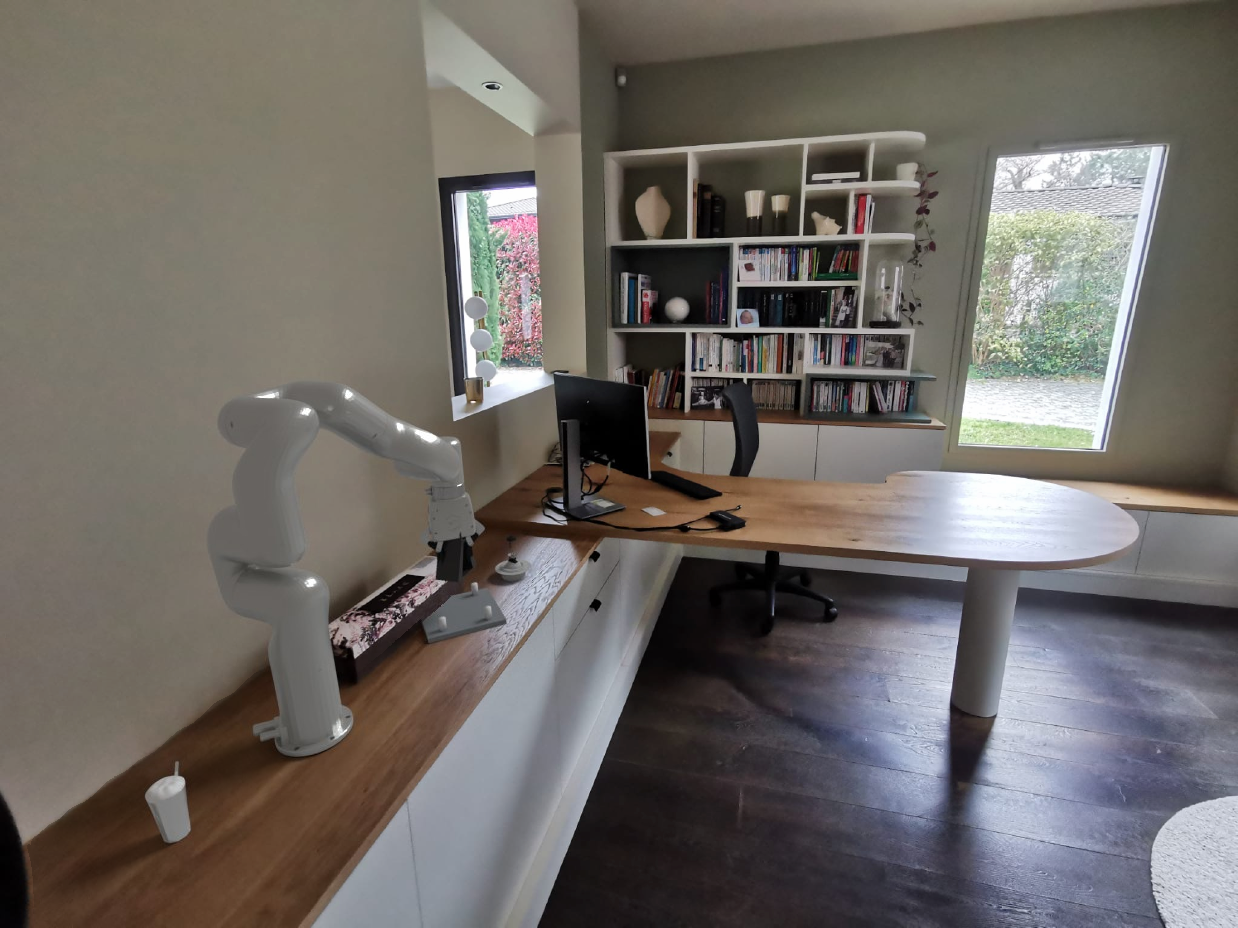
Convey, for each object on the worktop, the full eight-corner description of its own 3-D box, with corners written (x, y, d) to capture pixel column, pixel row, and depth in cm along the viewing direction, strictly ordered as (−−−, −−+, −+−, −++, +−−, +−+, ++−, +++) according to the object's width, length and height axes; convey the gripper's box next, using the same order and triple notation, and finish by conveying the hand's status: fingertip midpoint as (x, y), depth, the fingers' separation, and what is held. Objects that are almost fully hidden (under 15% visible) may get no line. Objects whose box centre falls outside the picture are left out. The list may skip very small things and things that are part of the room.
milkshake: (206, 815, 90) (193, 760, 87) (183, 846, 85) (167, 789, 82) (176, 816, 90) (161, 761, 87) (150, 848, 84) (133, 791, 82)
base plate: (428, 643, 134) (426, 626, 133) (416, 607, 149) (415, 592, 148) (506, 623, 142) (505, 607, 140) (487, 591, 157) (486, 577, 156)
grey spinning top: (537, 532, 164) (510, 525, 169) (511, 545, 156) (484, 537, 161) (539, 573, 167) (513, 565, 173) (514, 587, 159) (488, 578, 165)
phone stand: (458, 582, 138) (453, 534, 134) (435, 580, 139) (430, 532, 136) (476, 566, 146) (472, 520, 143) (454, 564, 147) (450, 518, 144)
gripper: (411, 501, 130) (420, 576, 135) (489, 489, 137) (495, 560, 142) (407, 491, 136) (415, 563, 141) (481, 480, 144) (487, 549, 149)
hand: (455, 561), depth 142 cm, fingers closed on phone stand, 5 cm apart
